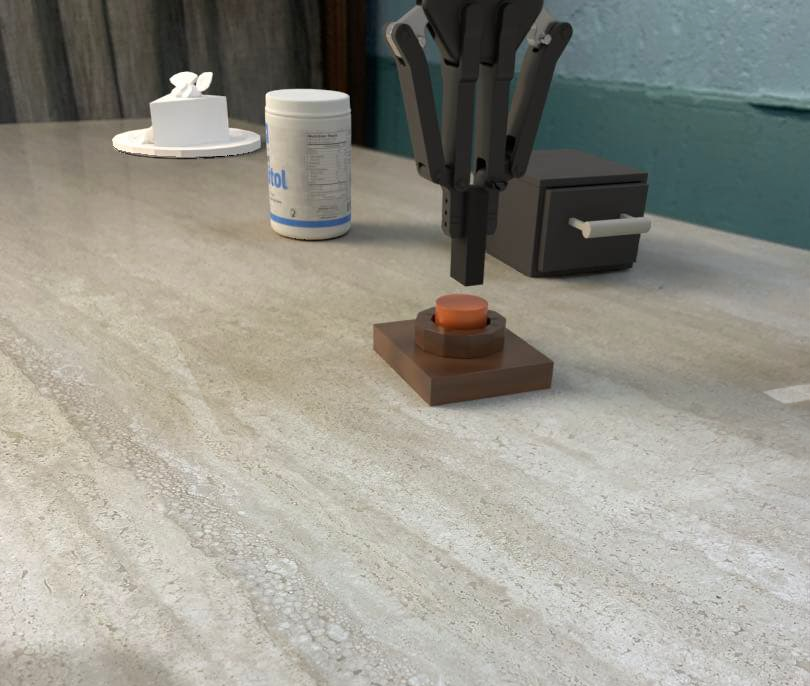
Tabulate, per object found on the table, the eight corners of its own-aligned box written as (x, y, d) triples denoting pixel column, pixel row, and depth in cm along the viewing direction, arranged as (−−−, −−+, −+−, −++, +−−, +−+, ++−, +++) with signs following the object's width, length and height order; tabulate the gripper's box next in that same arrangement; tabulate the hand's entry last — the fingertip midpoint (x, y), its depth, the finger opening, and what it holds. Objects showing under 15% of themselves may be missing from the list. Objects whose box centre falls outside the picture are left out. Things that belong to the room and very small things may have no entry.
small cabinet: (633, 267, 93) (648, 172, 88) (530, 278, 89) (540, 179, 84) (563, 234, 105) (573, 148, 99) (469, 242, 101) (474, 153, 95)
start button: (495, 329, 66) (497, 307, 65) (447, 335, 65) (448, 313, 64) (472, 313, 69) (474, 291, 68) (426, 318, 68) (427, 296, 67)
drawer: (660, 274, 88) (675, 193, 84) (564, 284, 85) (574, 201, 80) (569, 231, 102) (578, 160, 98) (483, 239, 98) (488, 165, 94)
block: (551, 389, 66) (557, 338, 64) (430, 407, 62) (432, 354, 60) (481, 335, 75) (484, 290, 73) (372, 349, 72) (373, 302, 70)
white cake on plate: (171, 130, 163) (163, 62, 157) (287, 141, 155) (283, 70, 149) (82, 149, 144) (69, 73, 138) (209, 164, 136) (201, 83, 130)
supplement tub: (256, 228, 104) (247, 91, 96) (323, 217, 109) (319, 86, 101) (298, 246, 98) (292, 101, 89) (367, 234, 102) (367, 96, 94)
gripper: (409, -123, 47) (404, 305, 60) (613, -113, 51) (567, 285, 64) (362, -114, 53) (367, 275, 66) (549, -105, 57) (519, 258, 70)
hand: (466, 280), depth 65 cm, fingers closed
